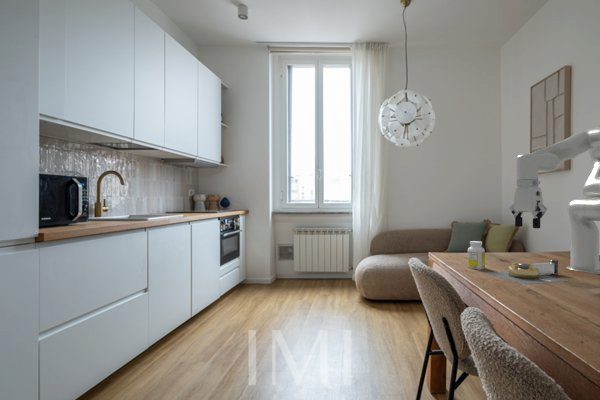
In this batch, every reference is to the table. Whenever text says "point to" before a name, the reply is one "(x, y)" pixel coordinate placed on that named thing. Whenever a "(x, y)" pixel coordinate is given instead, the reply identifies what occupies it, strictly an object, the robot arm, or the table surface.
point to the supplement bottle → (476, 255)
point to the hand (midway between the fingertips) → (527, 227)
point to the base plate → (525, 281)
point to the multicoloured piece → (532, 269)
